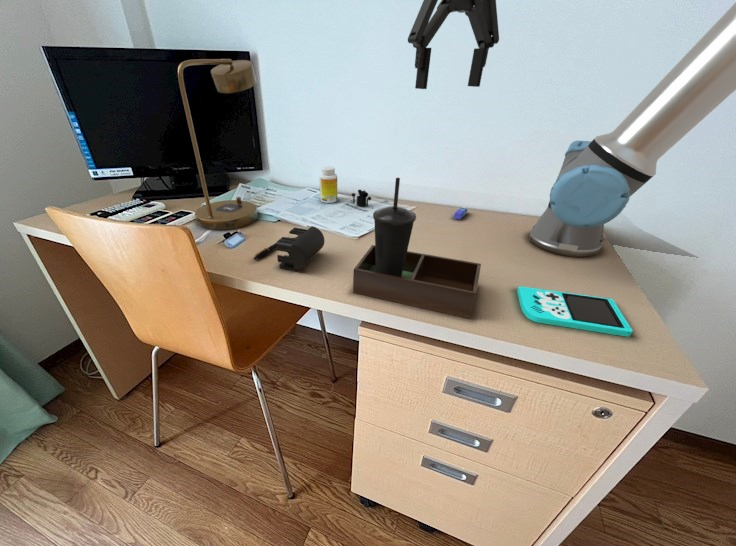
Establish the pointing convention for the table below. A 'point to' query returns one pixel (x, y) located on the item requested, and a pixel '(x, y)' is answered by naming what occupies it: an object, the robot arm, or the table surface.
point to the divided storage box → (422, 282)
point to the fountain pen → (265, 251)
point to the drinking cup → (392, 236)
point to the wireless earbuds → (361, 198)
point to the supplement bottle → (328, 185)
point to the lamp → (214, 214)
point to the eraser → (460, 213)
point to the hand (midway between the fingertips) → (447, 87)
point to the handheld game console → (573, 311)
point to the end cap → (299, 248)
